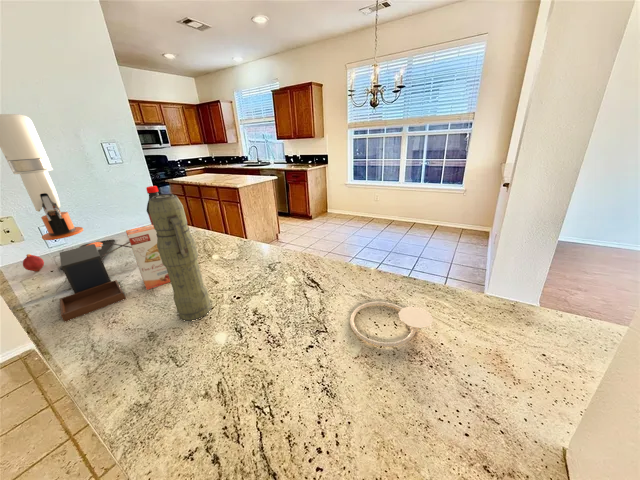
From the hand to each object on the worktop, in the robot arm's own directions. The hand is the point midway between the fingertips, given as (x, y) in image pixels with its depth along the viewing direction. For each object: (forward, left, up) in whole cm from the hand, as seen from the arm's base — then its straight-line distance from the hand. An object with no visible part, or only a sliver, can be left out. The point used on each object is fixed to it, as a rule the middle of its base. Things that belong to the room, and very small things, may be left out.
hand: (61, 229), depth 76 cm
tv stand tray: (0, 0, -25) cm, 25 cm away
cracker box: (+21, -4, -25) cm, 33 cm away
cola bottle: (+30, +22, -25) cm, 45 cm away
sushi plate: (+11, +45, -25) cm, 53 cm away
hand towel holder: (+54, -76, -25) cm, 97 cm away
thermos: (+21, -31, -25) cm, 45 cm away
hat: (0, 0, -1) cm, 1 cm away
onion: (-14, +47, -25) cm, 55 cm away
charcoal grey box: (+1, +16, -25) cm, 30 cm away
